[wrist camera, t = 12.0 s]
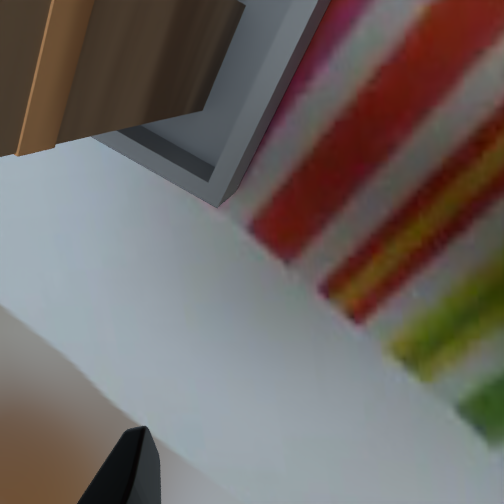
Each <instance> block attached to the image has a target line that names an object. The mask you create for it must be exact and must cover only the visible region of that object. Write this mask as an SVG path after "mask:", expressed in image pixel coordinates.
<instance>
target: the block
mask: <svg viewBox="0 0 504 504" xmlns="http://www.w3.org/2000/svg"><path fill="white" fill-rule="evenodd" d="M245 7H246V5H245V4H243V3H241V2H239V1H238V0H0V157H2V156H7V155H11V154H14V155H16V156H22V155H27V154H31V153H35V152H39V151H43V150H48V149H52V148H55V144H59V143H63V142H68V141H72V140H76V139H81V138H85V137H90V136H94V135H98V134H103V133H107V132H111V131H116V130H120V129H125V128H129V127H133V126H138V125H142V124H146V123H151V122H155V121H159V120H164V119H168V118H173V117H177V116H181V115H186V114H190V113H194V112H199V111H203V108H204V106H205V104H206V101H207V99H208V96H209V94H210V91H211V89H212V87H213V84H214V82H215V79H216V77H217V75H218V72H219V70H220V67H221V65H222V62H223V60H224V58H225V55H226V53H227V50H228V48H229V45H230V43H231V41H232V38H233V36H234V33H235V31H236V29H237V26H238V24H239V21H240V19H241V16H242V14H243V12H244V9H245Z"/></svg>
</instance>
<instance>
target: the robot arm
mask: <svg viewBox="0 0 504 504" xmlns="http://www.w3.org/2000/svg"><path fill="white" fill-rule="evenodd" d="M77 504H161V478H160V459H159V453H158V451H157V448H156V446H155V443H154V440H153V438H152V435H151V433H150V431H149V429H148V427H147V426H140V427H135V428H130V429H127V430H126V431H125V432H124V433H123V434H122V436H121V438H120V439H119V441H118V442H117V444H116V445H115V447H114V448H113V450H112V451H111V453H110V454H109V456H108V457H107V459H106V460H105V462H104V463H103V465H102V466H101V468H100V469H99V471H98V472H97V474H96V476H95V477H94V479H93V480H92V482H91V483H90V485H89V486H88V488H87V489H86V491H85V492H84V494H83V495H82V497H81V498H80V500H79V501H78V503H77Z"/></svg>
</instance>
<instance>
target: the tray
mask: <svg viewBox="0 0 504 504" xmlns="http://www.w3.org/2000/svg"><path fill="white" fill-rule="evenodd" d="M238 1H239V2H241V3H243V4H245V5H246V7H245V9H244V12H243V14H242V16H241V19H240V21H239V24H238V26H237V29H236V31H235V33H234V36H233V38H232V41H231V43H230V45H229V48H228V50H227V53H226V55H225V58H224V60H223V62H222V65H221V67H220V70H219V72H218V75H217V77H216V79H215V82H214V84H213V87H212V89H211V91H210V94H209V96H208V99H207V101H206V104H205V106H204V108H203V111H199V112H194V113H190V114H186V115H181V116H177V117H173V118H168V119H164V120H159V121H155V122H151V123H146V124H142V125H138V126H133V127H129V128H125V129H120V130H116V131H111V132H107V133H103V134H98V135H94V136H91V137H92V138H94V139H96V140H98V141H99V142H101V143H103V144H105V145H106V146H108V147H110V148H112V149H113V150H115V151H117V152H119V153H121V154H122V155H124V156H126V157H128V158H129V159H131V160H133V161H135V162H136V163H138V164H140V165H142V166H143V167H145V168H147V169H149V170H151V171H152V172H154V173H156V174H158V175H159V176H161V177H163V178H165V179H166V180H168V181H170V182H172V183H173V184H175V185H177V186H179V187H180V188H182V189H184V190H186V191H188V192H189V193H191V194H193V195H195V196H196V197H198V198H200V199H202V200H203V201H205V202H207V203H209V204H210V205H212V206H214V207H216V208H218V207H219V206H220V205H221V204H222V203H223V202H225V201H226V200H227V199H228V198H229V197H230V196H231V195H232V194H233V193H234V192H236V190H237V188H238V186H239V184H240V182H241V180H242V178H243V176H244V174H245V172H246V170H247V168H248V166H249V164H250V162H251V160H252V158H253V156H254V154H255V152H256V150H257V148H258V146H259V144H260V142H261V140H262V138H263V136H264V134H265V132H266V130H267V128H268V126H269V124H270V122H271V120H272V118H273V116H274V114H275V112H276V110H277V108H278V106H279V104H280V102H281V100H282V98H283V96H284V94H285V92H286V90H287V88H288V86H289V83H290V81H291V79H292V77H293V75H294V73H295V71H296V69H297V67H298V65H299V63H300V61H301V59H302V57H303V55H304V53H305V51H306V49H307V47H308V45H309V43H310V41H311V39H312V37H313V35H314V33H315V31H316V29H317V27H318V25H319V23H320V21H321V19H322V17H323V15H324V13H325V11H326V9H327V7H328V5H329V3H330V1H331V0H238Z"/></svg>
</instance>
